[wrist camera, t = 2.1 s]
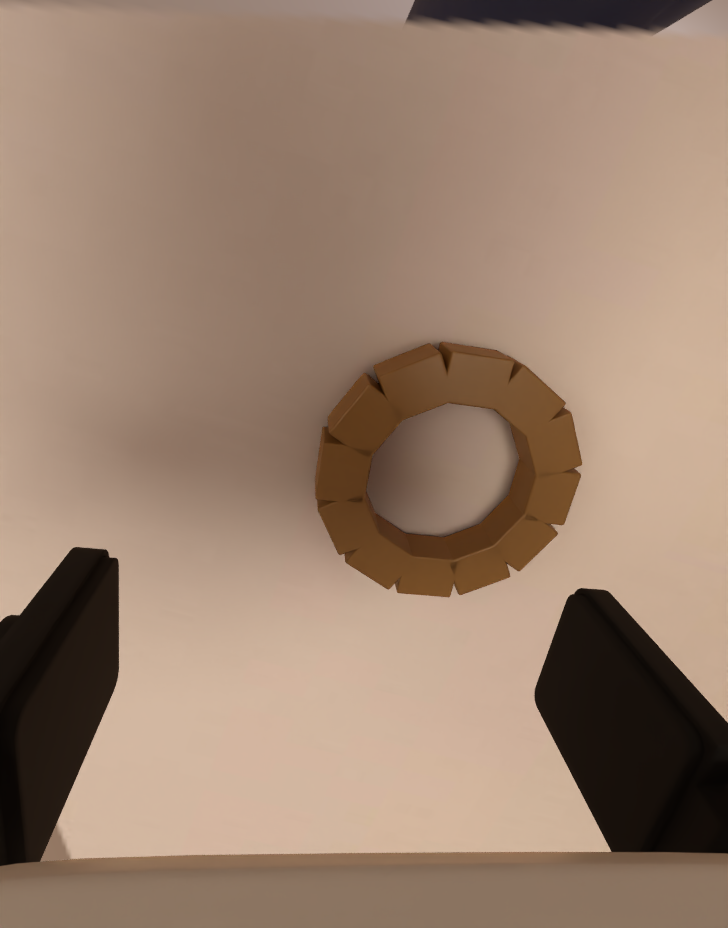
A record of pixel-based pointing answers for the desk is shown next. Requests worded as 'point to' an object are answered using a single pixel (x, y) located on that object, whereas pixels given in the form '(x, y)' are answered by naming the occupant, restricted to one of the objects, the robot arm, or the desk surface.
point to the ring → (506, 528)
